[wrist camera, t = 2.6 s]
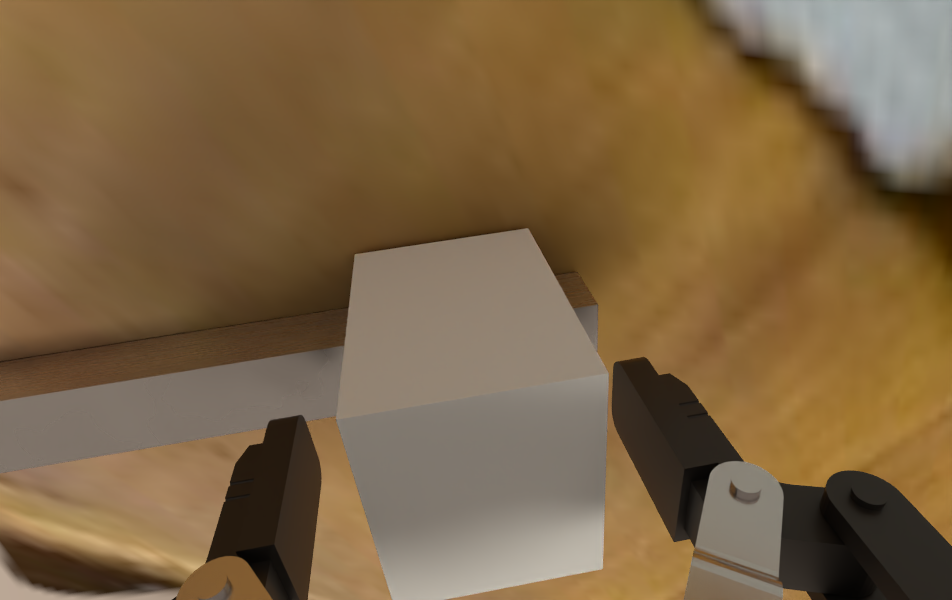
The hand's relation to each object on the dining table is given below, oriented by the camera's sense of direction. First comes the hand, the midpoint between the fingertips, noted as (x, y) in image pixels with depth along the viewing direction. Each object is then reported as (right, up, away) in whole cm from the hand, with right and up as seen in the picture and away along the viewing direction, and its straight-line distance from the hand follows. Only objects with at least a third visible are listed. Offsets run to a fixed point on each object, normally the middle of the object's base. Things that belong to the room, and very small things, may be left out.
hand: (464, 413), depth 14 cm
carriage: (0, +2, +4) cm, 4 cm away
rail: (-5, +1, +3) cm, 6 cm away
